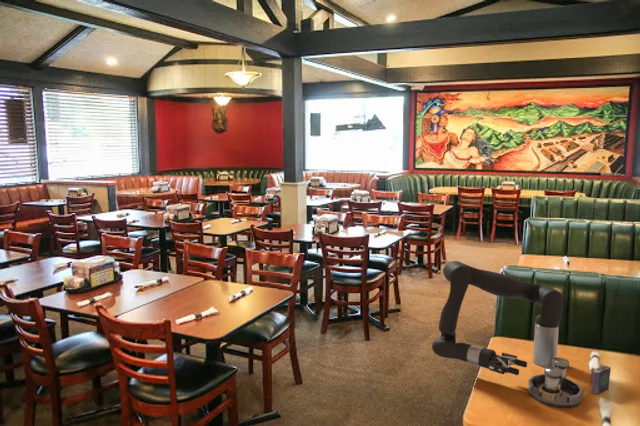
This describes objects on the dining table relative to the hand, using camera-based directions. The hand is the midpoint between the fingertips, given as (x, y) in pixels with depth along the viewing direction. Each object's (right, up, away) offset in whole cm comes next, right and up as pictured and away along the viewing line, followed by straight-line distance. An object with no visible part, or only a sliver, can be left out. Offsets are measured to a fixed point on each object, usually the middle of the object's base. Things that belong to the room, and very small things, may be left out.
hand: (522, 368), depth 191 cm
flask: (+30, -9, +2) cm, 32 cm away
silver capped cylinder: (+8, -8, -5) cm, 13 cm away
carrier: (+11, -10, -1) cm, 15 cm away
